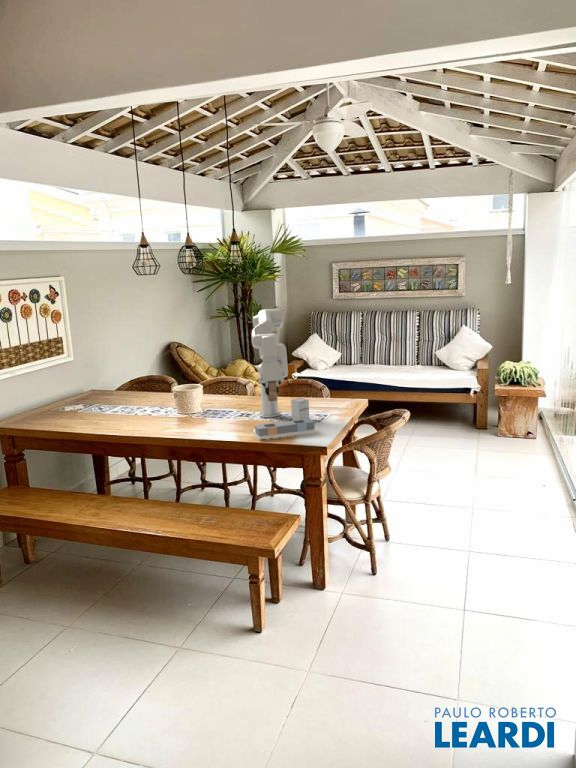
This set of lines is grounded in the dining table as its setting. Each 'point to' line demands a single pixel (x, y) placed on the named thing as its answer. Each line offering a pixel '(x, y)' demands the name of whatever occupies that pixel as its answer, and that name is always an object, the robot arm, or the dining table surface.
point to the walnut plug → (272, 391)
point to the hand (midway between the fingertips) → (272, 394)
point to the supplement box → (300, 409)
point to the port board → (284, 429)
